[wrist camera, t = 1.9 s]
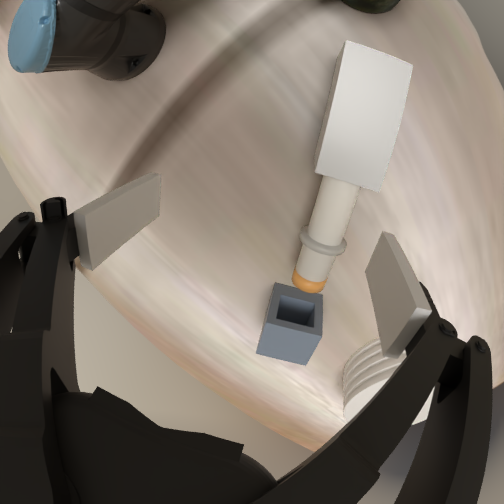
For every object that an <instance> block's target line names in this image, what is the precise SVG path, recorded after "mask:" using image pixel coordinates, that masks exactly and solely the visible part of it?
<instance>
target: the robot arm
mask: <svg viewBox="0 0 504 504" xmlns="http://www.w3.org/2000/svg"><path fill="white" fill-rule="evenodd" d="M138 1H140V0H24V1H23V2H22V4H21V6H20V7H19V9H18V11H17V13H16V15H15V18H14V20H13V23H12V26H11V30H10V34H9V40H8V57H9V61H10V64H11V66H12V67H13V69H14V70H16V71H18V72H21V73H28V72H35V73H42V72H52V71H67V70H88V71H90V72H92V73H94V74H96V75H98V76H99V77H101V78H104V79H107V80H126V79H130V78H132V77H135V76H136V75H138V74H140V73H141V72H143V71H144V70H145V69H146V68H147V67H148V66H149V65H150V64H151V63H152V62H153V61H154V59H155V58H156V56H157V55H158V53H159V51H160V49H161V47H162V45H163V42H164V38H165V21H164V18H163V16H162V15H161V13H160V12H159V11H158V10H157V9H155V8H153V7H151V6H149V5H147V4H144V3H138ZM160 189H161V174H158V173H152V172H150V173H148V174H146V175H144V176H142V177H140V178H137V179H135V180H133V181H131V182H129V183H127V184H125V185H123V186H121V187H119V188H117V189H115V190H113V191H111V192H109V193H107V194H105V195H103V196H101V197H100V198H98V199H96V200H94V201H92V202H90V203H89V204H87V205H85V206H83V207H81V208H80V209H78V210H76V211H74V212H73V213H72V214H70V215H68V216H67V207H66V199H65V198H63V197H53V198H49V199H47V200H45V201H43V202H42V203H41V204H40V207H41V214H42V220H43V221H42V222H36V221H35V215H34V213H32V212H23V213H20V214H19V215H17V216H16V217H14V218H13V219H12V220H11V221H10V222H9V224H8V225H7V226H6V227H5V228H4V229H3V230H2V231H1V232H0V504H357V503H358V501H359V500H360V499H361V498H362V497H363V496H364V495H365V494H366V493H367V492H368V491H369V490H370V488H371V487H372V486H373V485H374V484H375V482H376V481H377V480H378V478H379V476H380V473H379V472H378V470H379V468H380V466H381V465H382V464H383V463H384V461H385V460H386V459H387V458H388V457H389V455H390V454H391V453H392V452H393V450H394V449H395V448H396V446H397V445H398V443H399V442H400V441H401V439H402V438H403V436H404V435H405V434H406V432H407V431H408V429H409V428H410V426H411V425H412V423H413V422H414V420H415V419H416V417H417V415H418V414H419V412H420V411H421V409H422V407H423V406H424V404H425V402H426V401H427V399H428V397H429V395H430V394H431V392H432V390H433V388H434V392H433V396H432V401H431V405H430V409H429V413H428V416H427V420H426V423H425V427H424V431H423V433H422V437H421V440H420V443H419V446H418V449H417V451H416V454H415V457H414V460H413V462H412V465H411V467H410V470H409V472H408V475H407V477H406V479H405V482H404V484H403V486H402V489H401V491H400V493H399V495H398V497H397V499H396V501H395V503H394V504H477V501H478V497H479V494H480V489H481V486H482V482H483V477H484V472H485V467H486V461H487V456H488V449H489V441H490V431H491V419H492V363H491V352H490V348H489V346H488V344H487V342H485V340H484V339H482V338H480V337H478V336H472V337H471V338H470V339H469V341H468V342H467V343H466V342H464V341H462V340H460V339H458V338H457V335H458V334H457V331H456V329H455V328H454V326H453V325H452V324H451V323H450V322H448V321H447V320H445V319H443V318H440V316H439V314H438V311H437V309H436V307H435V305H434V303H433V300H432V298H430V297H431V296H430V294H429V292H428V290H427V289H426V287H425V286H424V285H423V284H422V283H421V282H419V281H418V279H417V277H416V275H415V273H414V271H413V269H412V267H411V265H410V263H409V261H408V259H407V258H406V256H405V254H404V252H403V250H402V248H401V246H400V245H399V243H398V241H397V239H396V237H395V236H394V235H393V234H390V233H387V232H384V231H382V233H381V236H380V238H379V241H378V243H377V245H376V248H375V250H374V252H373V255H372V257H371V259H370V262H369V264H368V266H367V268H366V270H365V273H366V277H367V281H368V285H369V289H370V294H371V298H372V302H373V307H374V312H375V316H376V321H377V327H378V332H379V337H380V343H381V349H382V355H383V357H389V358H395V359H398V358H399V356H400V355H401V354H402V353H403V351H404V350H405V351H406V355H407V357H406V358H405V359H404V361H403V362H402V363H401V364H400V365H399V367H398V368H397V369H396V370H395V371H394V372H393V374H392V376H391V377H390V378H389V379H388V380H387V381H386V383H385V384H384V385H383V386H382V387H381V388H380V390H379V391H378V392H377V393H376V394H375V395H374V396H373V397H372V399H371V400H370V401H369V402H368V403H367V404H366V405H365V406H364V407H363V408H362V409H361V410H360V411H359V412H358V413H357V414H356V415H355V416H354V417H353V418H352V419H351V420H350V421H349V422H348V423H347V424H346V425H345V426H344V427H343V428H342V429H341V430H340V431H339V432H338V433H337V434H335V435H334V436H333V437H332V438H331V439H330V440H329V441H328V442H327V443H325V444H324V445H323V446H322V447H321V448H320V449H318V450H317V451H316V452H315V453H314V454H312V455H311V456H310V457H309V458H307V459H306V460H305V461H304V462H302V463H301V464H300V465H299V466H297V467H296V468H294V469H293V470H291V471H290V472H289V473H287V474H286V475H284V476H283V477H281V478H280V479H279V480H277V481H276V480H275V479H274V477H273V476H272V475H271V473H269V472H268V470H267V469H266V468H265V467H263V466H262V465H261V464H260V463H258V462H257V461H256V460H254V459H253V458H251V457H249V456H248V455H246V454H244V453H242V450H243V446H244V444H240V443H236V442H232V441H229V440H225V439H221V438H218V437H215V436H212V435H208V434H205V433H198V432H188V431H181V430H174V429H168V428H163V427H160V426H158V425H157V424H155V423H154V422H153V421H151V420H150V419H149V418H147V417H146V416H145V415H143V414H142V413H141V412H139V411H138V410H137V409H136V408H135V407H133V406H132V405H131V404H130V403H128V402H126V401H124V400H122V399H120V398H118V397H117V396H115V395H112V394H111V393H109V392H107V391H105V390H103V389H101V388H100V387H97V388H96V390H95V391H94V392H93V394H92V393H86V392H80V390H79V386H78V382H77V374H76V364H75V349H74V313H73V312H74V280H75V261H74V259H75V258H76V257H77V256H80V262H81V266H83V267H85V268H87V269H90V270H92V271H93V270H94V269H95V268H96V267H97V266H98V265H100V264H101V263H102V262H103V261H104V260H105V259H107V258H108V257H109V256H110V255H111V254H112V253H114V252H115V251H116V250H117V249H118V248H120V247H121V246H122V245H123V244H124V243H126V242H127V241H128V240H129V239H130V238H132V237H133V236H134V235H135V234H137V233H138V232H139V231H140V230H142V229H143V228H144V227H146V226H147V225H148V224H149V223H151V222H152V221H153V220H155V219H156V218H157V217H158V216H159V210H160ZM18 252H19V253H20V257H21V258H20V259H19V254H18ZM12 327H13V328H12ZM11 329H12V333H10V331H11ZM434 386H435V387H434Z"/></svg>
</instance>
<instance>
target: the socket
mask: <svg viewBox="0 0 504 504" xmlns="http://www.w3.org/2000/svg"><path fill="white" fill-rule="evenodd" d="M322 320H323V295H321V294H317V293H308V292H304V291H302V290H300V289H298V288H294V287H291V286H287V285H283V284H279V283H276V282H275V285H274V288H273V292H272V295H271V298H270V302H269V305H268V308H267V312H266V315H265V319H264V323H263V327H262V331H261V335H260V339H259V343H258V347H257V350H256V354H260V355H264V356H268V357H272V358H276V359H280V360H284V361H288V362H292V363H297V364H301V365H306V364H307V363H308V361H309V359H310V358H311V356H312V354H313V352H314V350H315V349H316V347H317V345H318V343H319V341H320V340H321V338H322Z"/></svg>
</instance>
